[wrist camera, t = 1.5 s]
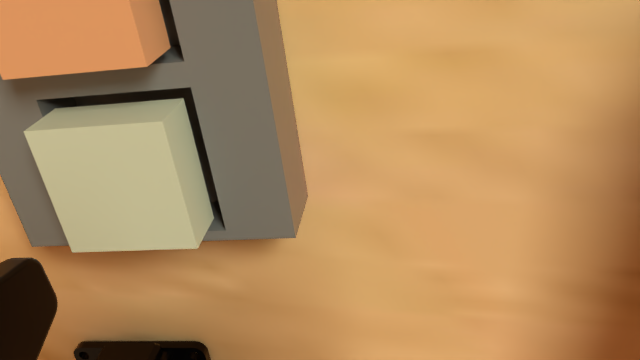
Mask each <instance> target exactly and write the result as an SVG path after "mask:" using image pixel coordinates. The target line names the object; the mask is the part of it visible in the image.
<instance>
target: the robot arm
mask: <svg viewBox="0 0 640 360" xmlns="http://www.w3.org/2000/svg"><path fill="white" fill-rule="evenodd" d="M56 311H57V297H56V294H55V292H54V290H53V288H52V286H51V284H50V282H49V279H48V277H47V275H46V273H45V271H44V269H43V267H42V265H41V263H40V262H39V261H38V260H36V259H34V258H11V259H8V260H5V261H3V262H1V263H0V360H37V358H38V356H39V353H40V351H41V349H42V346H43V344H44V341H45V339H46V336H47V334H48V331H49V329H50V327H51V324H52V322H53V319H54V317H55V314H56ZM195 352H197V353H195ZM74 356H75V358H76V360H211V359H210V355H209V352H208V349H207V347H206V346H205V345H204V344H202V343H200V342H196V341H130V342H81V343H80V344H79V345H78V346H77V348H76V349H75V351H74Z"/></svg>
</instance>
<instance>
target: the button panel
mask: <svg viewBox="0 0 640 360" xmlns="http://www.w3.org/2000/svg"><path fill="white" fill-rule="evenodd" d="M159 3H160V7H161V11H162V15H163V19H164V23H165V27H166V31H167V35H168V39H169V43H170V47H171V48H170V49H168V50H167V51H166V52H165V53H164V54H162V55H161V56H160V57H159V58H157V59H156V60H155V61H154V62H153V63H151V64H150V65H149V66H148V67H139V68H128V69H117V70H106V71H95V72H84V73H73V74H62V75H51V76H40V77H29V78H18V79H7V80H3V79H2V77H1V74H0V175H1V177H2V180H3V182H4V184H5V186H6V189H7V191H8V193H9V195H10V198H11V200H12V202H13V205H14V207H15V209H16V211H17V214H18V216H19V218H20V220H21V223H22V225H23V227H24V230H25V232H26V234H27V236H28V239H29V241H30V243H31V246H32V247H38V246H68V245H69V243H68V241H67V238H66V236H65V233H64V231H63V228H62V226H61V224H60V221H59V219H58V216H57V214H56V211H55V209H54V206H53V204H52V201H51V199H50V196H49V194H48V191H47V189H46V186H45V184H44V181H43V179H42V176H41V174H40V171H39V169H38V166H37V164H36V161H35V159H34V156H33V154H32V151H31V149H30V146H29V144H28V142H27V139H26V137H25V134H24V132H23V131H25V130H26V129H27V128H29V127H30V126H32V125H33V124H34V123H36V122H37V121H39V120H40V119H41V118H43V117H44V116H45V115H47V114H48V113H50V112H51V111H52V110H54V109H55V108H67V107H80V106H92V105H105V104H117V103H130V102H142V101H155V100H168V99H180V98H184V102H185V106H186V110H187V114H188V118H189V122H190V126H191V129H192V133H193V137H194V141H195V145H196V149H197V153H198V157H199V161H200V165H201V169H202V173H203V177H204V181H205V185H206V189H207V192H208V196H209V200H210V204H211V208H212V212H213V216H214V219H213V221H212V223H211V225H210V226H209V228H208V230H207V232H206V234H205V236H204V238H203V240H202V241H216V240H246V239H276V238H296V235H297V232H298V228H299V225H300V221H301V218H302V214H303V211H304V208H305V204H306V201H307V197H308V194H307V188H306V181H305V175H304V169H303V163H302V157H301V150H300V144H299V138H298V132H297V125H296V119H295V113H294V107H293V101H292V94H291V88H290V82H289V76H288V70H287V63H286V57H285V51H284V45H283V38H282V32H281V26H280V20H279V14H278V7H277V1H276V0H159Z"/></svg>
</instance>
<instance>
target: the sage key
mask: <svg viewBox="0 0 640 360" xmlns="http://www.w3.org/2000/svg"><path fill="white" fill-rule="evenodd" d="M23 132H24V134H25V137H26V139H27V142H28V144H29V146H30V149H31V151H32V154H33V156H34V159H35V161H36V164H37V166H38V169H39V171H40V174H41V176H42V179H43V181H44V184H45V186H46V189H47V191H48V194H49V196H50V199H51V201H52V204H53V206H54V209H55V211H56V214H57V216H58V219H59V221H60V224H61V226H62V228H63V231H64V233H65V236H66V238H67V241H68V243H69V246H70V248H71V251H72V253H73V252H105V251H137V250H169V249H198V247H199V245H200V243H201V242H202V240H203V238H204V236H205V234H206V232H207V230H208V228H209V226H210V225H211V223H212V221H213V219H214V216H213V212H212V208H211V204H210V200H209V196H208V192H207V189H206V185H205V181H204V177H203V173H202V169H201V165H200V161H199V157H198V153H197V149H196V145H195V141H194V137H193V133H192V129H191V126H190V122H189V118H188V114H187V110H186V106H185V102H184V98H180V99H168V100H155V101H142V102H130V103H117V104H105V105H92V106H80V107H67V108H55V109H54V110H52V111H51V112H50V113H48V114H47V115H45V116H44V117H43V118H41V119H40V120H39V121H37V122H36V123H34V124H33V125H32V126H30V127H29V128H27V129H26V130H25V131H23Z"/></svg>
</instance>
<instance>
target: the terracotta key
mask: <svg viewBox="0 0 640 360" xmlns="http://www.w3.org/2000/svg"><path fill="white" fill-rule="evenodd" d="M170 48H171V47H170V43H169V39H168V35H167V31H166V27H165V23H164V19H163V15H162V11H161V7H160V3H159V0H0V74H1V77H2V79H3V80H7V79H18V78H29V77H40V76H51V75H62V74H73V73H84V72H95V71H106V70H117V69H128V68H139V67H148V66H149V65H150V64H151V63H153V62H154V61H155V60H156V59H157V58H159V57H160V56H161V55H162V54H164V53H165V52H166V51H167V50H168V49H170Z"/></svg>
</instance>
